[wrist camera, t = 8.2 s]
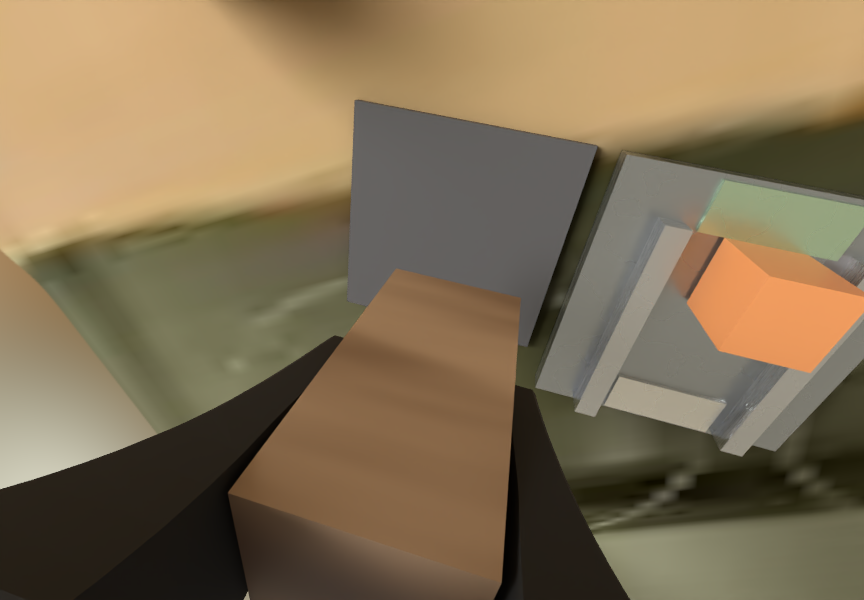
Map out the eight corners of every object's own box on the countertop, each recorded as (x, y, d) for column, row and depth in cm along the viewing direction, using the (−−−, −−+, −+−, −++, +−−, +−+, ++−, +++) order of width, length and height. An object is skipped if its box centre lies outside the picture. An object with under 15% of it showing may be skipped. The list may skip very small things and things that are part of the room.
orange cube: (761, 320, 16) (810, 373, 13) (686, 302, 17) (718, 350, 14) (808, 255, 15) (875, 299, 12) (724, 237, 15) (769, 276, 12)
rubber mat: (527, 342, 21) (527, 346, 20) (349, 297, 22) (347, 301, 22) (596, 145, 15) (597, 146, 15) (358, 99, 17) (354, 100, 16)
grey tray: (765, 435, 20) (786, 468, 19) (535, 375, 22) (535, 400, 20) (964, 215, 14) (1022, 234, 12) (622, 150, 15) (632, 159, 14)
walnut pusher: (492, 393, 14) (451, 688, 7) (386, 364, 14) (253, 614, 8) (521, 297, 12) (502, 583, 5) (396, 268, 12) (227, 492, 6)
